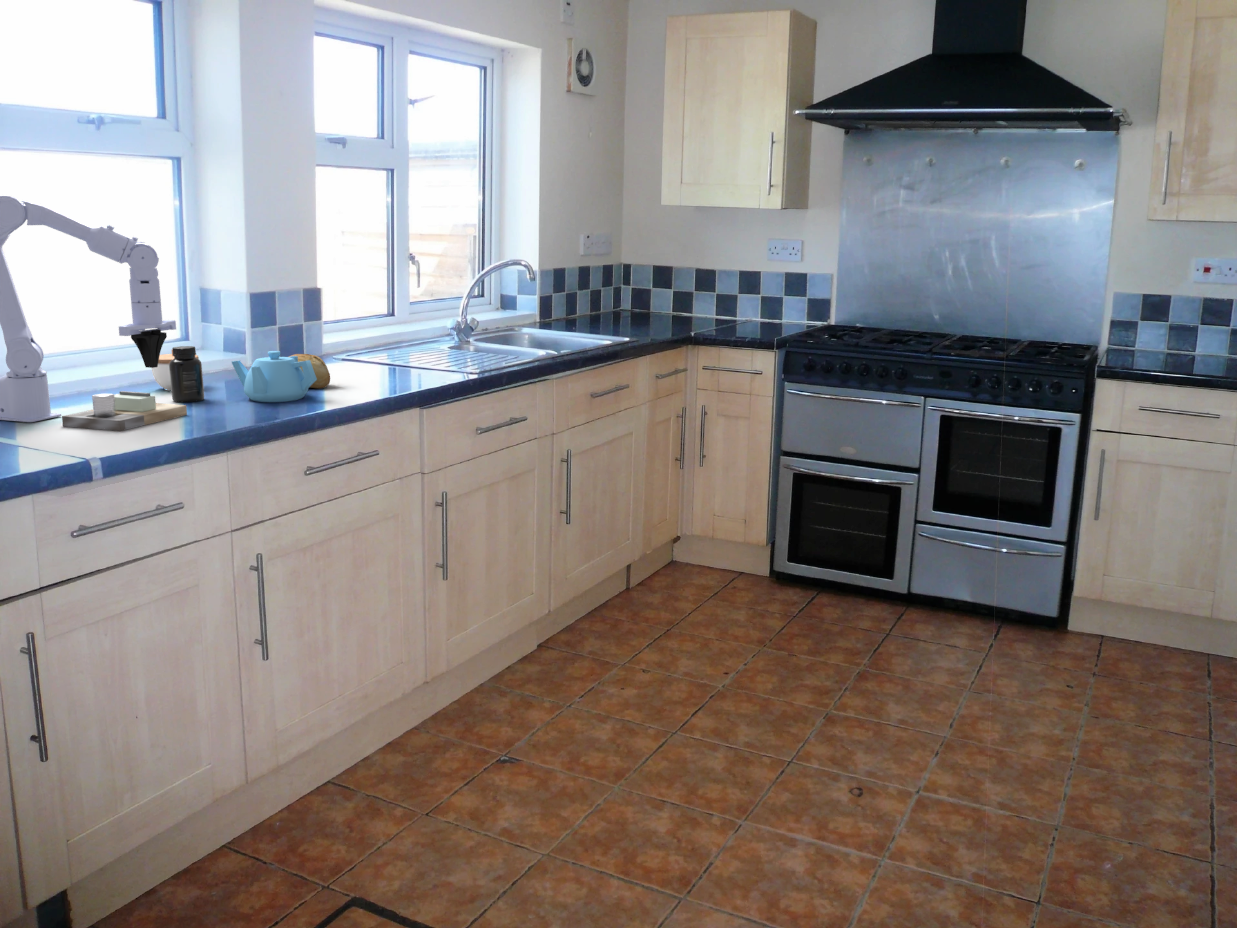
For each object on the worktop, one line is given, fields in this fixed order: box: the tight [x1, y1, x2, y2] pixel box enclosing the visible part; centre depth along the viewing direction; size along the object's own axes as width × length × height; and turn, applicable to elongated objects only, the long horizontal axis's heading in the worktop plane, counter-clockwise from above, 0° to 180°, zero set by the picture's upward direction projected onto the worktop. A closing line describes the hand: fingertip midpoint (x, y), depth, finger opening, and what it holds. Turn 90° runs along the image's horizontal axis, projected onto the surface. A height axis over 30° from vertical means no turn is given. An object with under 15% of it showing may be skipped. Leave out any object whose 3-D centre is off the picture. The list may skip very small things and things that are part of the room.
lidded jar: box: [151, 349, 200, 391], centre depth 266 cm, size 11×11×9 cm
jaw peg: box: [91, 393, 116, 418], centre depth 221 cm, size 4×4×6 cm
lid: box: [114, 390, 157, 412], centre depth 227 cm, size 9×4×3 cm, turn 71°
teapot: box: [231, 350, 317, 403], centre depth 254 cm, size 15×15×11 cm
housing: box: [61, 402, 188, 432], centre depth 227 cm, size 14×19×2 cm
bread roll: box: [288, 353, 331, 390], centre depth 271 cm, size 10×15×8 cm, turn 73°
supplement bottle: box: [169, 345, 205, 403], centre depth 250 cm, size 7×7×12 cm
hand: (151, 367), depth 235 cm, fingers closed
